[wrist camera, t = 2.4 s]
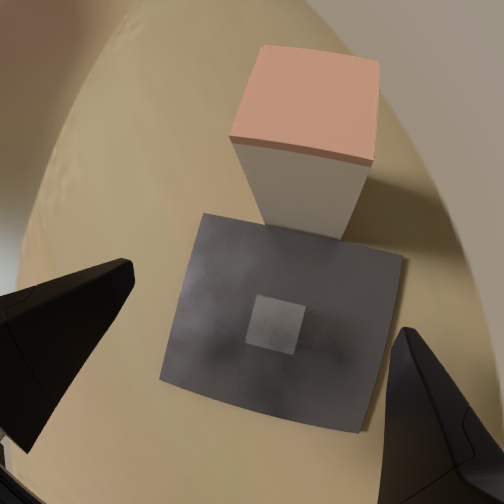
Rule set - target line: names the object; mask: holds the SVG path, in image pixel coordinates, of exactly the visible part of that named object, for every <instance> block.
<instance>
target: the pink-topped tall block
mask: <svg viewBox="0 0 504 504" xmlns="http://www.w3.org/2000/svg"><path fill="white" fill-rule="evenodd" d="M379 72H380V62H379V61H375V60H370V59H365V58H360V57H355V56H350V55H344V54H338V53H332V52H325V51H318V50H311V49H302V48H293V47H282V46H268V45H262V47H261V49H260V52H259V54H258V57H257V59H256V62H255V65H254V67H253V70H252V73H251V75H250V78H249V80H248V83H247V86H246V88H245V91H244V94H243V97H242V99H241V102H240V105H239V108H238V110H237V113H236V116H235V119H234V122H233V125H232V127H231V130H230V133H229V137H230V140H231V142H232V144H233V147H234V149H235V152H236V154H237V156H238V159H239V161H240V164H241V166H242V168H243V171H244V173H245V176H246V178H247V181H248V183H249V185H250V188H251V190H252V193H253V195H254V198H255V200H256V203H257V205H258V208H259V210H260V213H261V215H262V217H263V220H264V222H265V225H269V226H274V227H278V228H283V229H288V230H293V231H298V232H302V233H307V234H312V235H316V236H321V237H325V238H330V239H335V240H339V241H341V238H342V236H343V234H344V231H345V229H346V227H347V224H348V222H349V220H350V217H351V215H352V213H353V210H354V208H355V206H356V203H357V201H358V198H359V196H360V193H361V191H362V188H363V186H364V183H365V181H366V178H367V176H368V173H369V171H370V168H371V165H372V163H373V160H374V150H375V140H376V128H377V114H378V97H379Z"/></svg>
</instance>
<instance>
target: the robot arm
mask: <svg viewBox="0 0 504 504" xmlns="http://www.w3.org/2000/svg"><path fill="white" fill-rule="evenodd" d="M134 285H135V276H134V268H133V263H132V261H130V260H128V259H124V258H119V259H116V260H113V261H109V262H106V263H103V264H100V265H97V266H93V267H90V268H87V269H84V270H81V271H78V272H75V273H72V274H68V275H65V276H62V277H59V278H56V279H53V280H50V281H47V282H44V283H41V284H38V285H37V286H32V287H29V288H26V289H23V290H20V291H17V292H13V293H10V294H7V295H3V296H0V441H1V440H2V439H3V438H4V436H5V435H6V436H7V437H8V438H9V439H11V440H12V441H13V442H14V443H15V444H16V445H17V446H18V447H19V448H21V449H22V450H23V451H24V452H25V453H26V454H28V453H29V452H30V450H31V448H32V447H33V445H34V443H35V442H36V440H37V438H38V436H39V435H40V433H41V431H42V430H43V428H44V426H45V425H46V423H47V421H48V420H49V418H50V416H51V415H52V413H53V411H54V410H55V408H56V406H57V405H58V403H59V402H60V400H61V398H62V397H63V395H64V394H65V392H66V391H67V389H68V387H69V386H70V384H71V383H72V381H73V380H74V378H75V377H76V375H77V374H78V372H79V371H80V369H81V368H82V366H83V365H84V363H85V362H86V360H87V359H88V357H89V356H90V354H91V353H92V351H93V350H94V348H95V347H96V346H97V344H98V343H99V341H100V340H101V338H102V337H103V336H104V334H105V333H106V331H107V330H108V328H109V327H110V326H111V324H112V323H113V321H114V320H115V318H116V316H117V315H118V313H119V311H120V310H121V308H122V306H123V304H124V303H125V301H126V299H127V297H128V296H129V294H130V292H131V291H132V289H133V287H134ZM0 504H46V503H45V502H44V501H42V500H41V499H40V498H39V497H37V496H36V495H35V494H34V493H32V492H31V491H30V490H29V489H28V488H26V487H25V486H24V485H23V484H22V483H21V482H20V481H18V480H17V479H16V478H15V477H14V476H13V475H12V474H11V473H10V472H9V471H7V470H6V468H5V459H4V446H3V445H2V444H1V443H0ZM377 504H504V452H503V451H502V449H501V448H500V447H499V445H498V444H497V443H496V442H495V440H494V439H493V438H492V436H491V435H490V433H489V432H488V431H487V429H486V428H485V427H484V425H483V424H482V422H481V421H480V419H479V418H478V417H477V415H476V414H475V412H474V411H473V409H472V408H471V406H469V403H468V402H467V400H466V399H465V397H464V396H463V394H462V393H461V391H460V390H459V388H458V387H457V386H456V384H455V383H454V381H453V380H452V378H451V377H450V376H449V374H448V373H447V371H446V370H445V369H444V367H443V366H442V364H441V363H440V362H439V360H438V359H437V357H436V356H435V355H434V353H433V352H432V351H431V349H430V348H429V347H428V345H427V344H426V343H425V341H424V340H423V339H422V337H421V336H420V335H419V333H418V332H417V331H416V330H415V329H414V328H409V327H402V329H401V330H400V332H399V334H398V336H397V338H396V340H395V342H394V344H393V346H392V349H391V355H390V365H389V374H388V382H387V390H386V408H385V431H384V447H383V459H382V470H381V479H380V488H379V496H378V503H377Z"/></svg>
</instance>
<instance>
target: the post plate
mask: <svg viewBox="0 0 504 504" xmlns="http://www.w3.org/2000/svg"><path fill="white" fill-rule="evenodd" d="M402 260H403V256H402V255H398V254H394V253H390V252H385V251H381V250H377V249H372V248H368V247H364V246H359V245H355V244H350V243H346V242H341V241H337V240H332V239H328V238H323V237H319V236H314V235H309V234H305V233H300V232H295V231H291V230H286V229H281V228H276V227H271V226H267V225H262V224H257V223H252V222H247V221H242V220H237V219H232V218H227V217H222V216H216V215H211V214H206V213H203V216H202V220H201V223H200V226H199V230H198V233H197V236H196V240H195V243H194V247H193V250H192V254H191V257H190V261H189V264H188V268H187V271H186V275H185V279H184V282H183V286H182V290H181V293H180V297H179V301H178V305H177V309H176V312H175V316H174V320H173V324H172V328H171V332H170V336H169V340H168V344H167V349H166V353H165V357H164V361H163V366H162V370H161V374H160V379H159V380H162V381H165V382H167V383H170V384H172V385H175V386H178V387H180V388H183V389H186V390H189V391H191V392H194V393H197V394H200V395H203V396H206V397H209V398H212V399H215V400H218V401H221V402H224V403H228V404H231V405H234V406H237V407H241V408H244V409H248V410H251V411H255V412H259V413H262V414H266V415H270V416H274V417H278V418H282V419H286V420H290V421H295V422H299V423H304V424H308V425H313V426H318V427H323V428H328V429H334V430H339V431H345V432H352V433H358V434H359V432H360V429H361V427H362V424H363V421H364V418H365V415H366V412H367V409H368V406H369V403H370V399H371V396H372V393H373V390H374V386H375V383H376V379H377V376H378V372H379V369H380V365H381V361H382V358H383V354H384V350H385V346H386V342H387V337H388V333H389V329H390V324H391V320H392V315H393V310H394V305H395V300H396V295H397V290H398V284H399V278H400V272H401V266H402Z"/></svg>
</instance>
